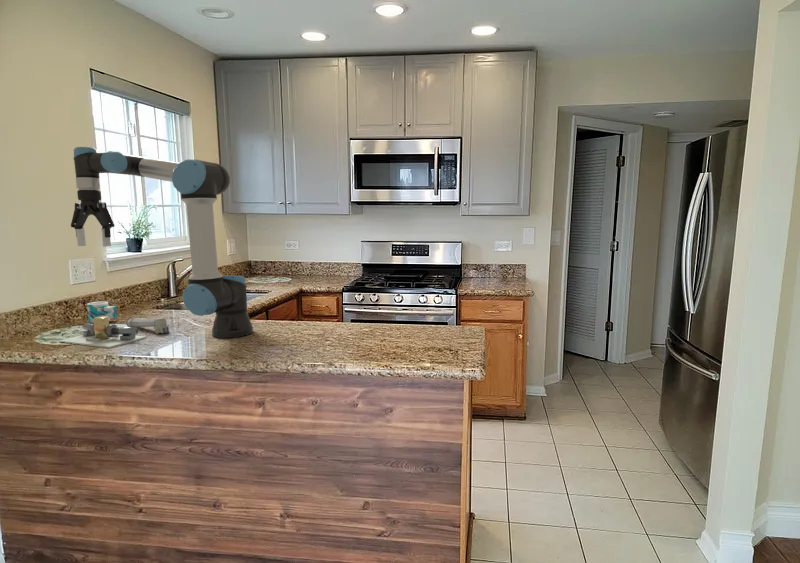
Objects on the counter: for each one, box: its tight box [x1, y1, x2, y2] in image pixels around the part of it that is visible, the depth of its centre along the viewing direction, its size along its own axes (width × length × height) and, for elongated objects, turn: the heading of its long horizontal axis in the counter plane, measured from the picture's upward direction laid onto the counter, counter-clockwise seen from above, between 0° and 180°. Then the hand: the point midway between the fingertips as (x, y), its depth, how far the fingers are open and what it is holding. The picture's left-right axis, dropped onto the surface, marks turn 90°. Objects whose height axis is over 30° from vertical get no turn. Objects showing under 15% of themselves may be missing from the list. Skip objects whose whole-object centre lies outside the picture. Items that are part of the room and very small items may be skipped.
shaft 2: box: [106, 323, 139, 341], centre depth 182 cm, size 10×5×5 cm, turn 84°
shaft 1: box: [82, 322, 95, 337], centre depth 188 cm, size 10×5×5 cm, turn 54°
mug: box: [86, 300, 118, 324], centre depth 217 cm, size 8×12×8 cm
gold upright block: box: [93, 316, 110, 340], centre depth 182 cm, size 5×5×8 cm
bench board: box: [58, 334, 147, 349], centre depth 183 cm, size 26×15×2 cm, turn 69°
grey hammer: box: [126, 316, 170, 334], centre depth 199 cm, size 5×7×25 cm
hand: (94, 246), depth 187 cm, fingers open, 13 cm apart
